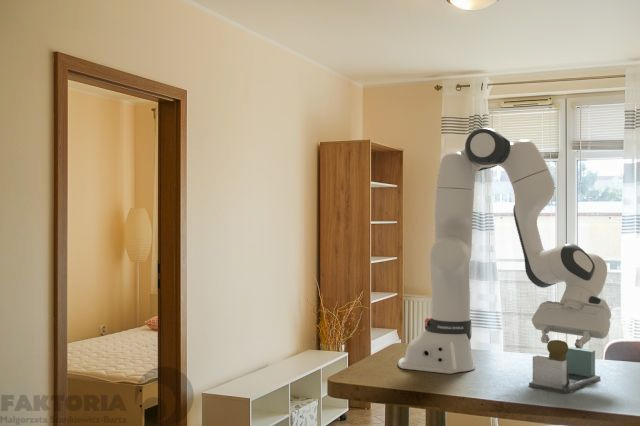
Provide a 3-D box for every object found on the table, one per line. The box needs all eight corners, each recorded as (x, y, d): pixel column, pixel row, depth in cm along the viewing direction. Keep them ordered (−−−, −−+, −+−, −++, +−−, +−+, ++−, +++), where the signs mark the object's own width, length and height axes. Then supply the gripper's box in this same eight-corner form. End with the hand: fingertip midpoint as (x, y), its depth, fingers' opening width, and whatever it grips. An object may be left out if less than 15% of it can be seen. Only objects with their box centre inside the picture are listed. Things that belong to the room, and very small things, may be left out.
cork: (545, 383, 172) (545, 341, 172) (545, 378, 178) (545, 337, 178) (569, 386, 170) (570, 343, 170) (569, 380, 176) (569, 339, 176)
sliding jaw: (591, 377, 179) (591, 351, 179) (562, 372, 185) (562, 347, 185) (595, 375, 181) (595, 350, 181) (566, 370, 186) (566, 346, 186)
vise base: (565, 394, 166) (565, 362, 166) (529, 386, 173) (529, 356, 173) (600, 379, 181) (600, 350, 181) (565, 373, 188) (565, 345, 188)
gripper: (538, 293, 188) (520, 331, 181) (611, 300, 173) (594, 342, 166) (545, 307, 191) (528, 345, 184) (617, 316, 176) (601, 357, 169)
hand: (560, 344), depth 175 cm, fingers open, 8 cm apart
